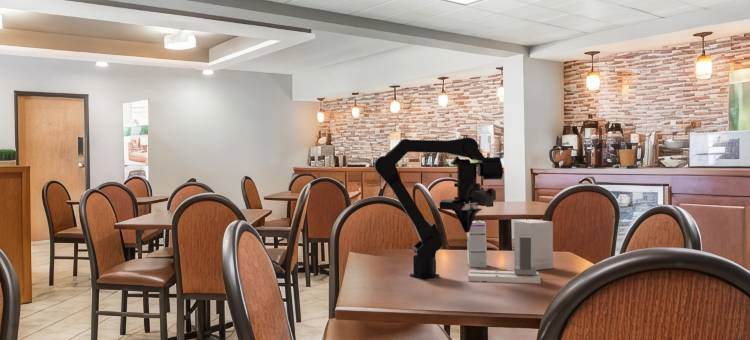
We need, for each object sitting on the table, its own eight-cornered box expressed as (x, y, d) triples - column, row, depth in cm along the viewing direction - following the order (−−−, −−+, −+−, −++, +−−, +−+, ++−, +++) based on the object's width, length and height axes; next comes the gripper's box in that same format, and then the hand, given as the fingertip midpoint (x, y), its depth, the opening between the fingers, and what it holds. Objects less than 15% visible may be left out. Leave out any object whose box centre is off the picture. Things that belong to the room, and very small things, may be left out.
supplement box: (554, 268, 188) (554, 221, 187) (531, 271, 184) (531, 222, 184) (534, 264, 196) (534, 218, 196) (513, 266, 192) (513, 220, 192)
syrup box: (487, 267, 190) (487, 222, 190) (468, 267, 190) (468, 222, 190) (484, 264, 196) (484, 220, 195) (466, 264, 196) (466, 220, 195)
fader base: (468, 281, 169) (468, 274, 169) (469, 274, 178) (469, 268, 178) (540, 283, 165) (540, 277, 165) (537, 277, 174) (537, 271, 174)
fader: (514, 274, 168) (514, 237, 168) (513, 270, 174) (513, 234, 174) (536, 275, 167) (536, 237, 167) (534, 271, 173) (534, 235, 173)
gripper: (468, 181, 164) (468, 237, 164) (508, 179, 177) (508, 231, 177) (438, 180, 172) (438, 234, 173) (478, 178, 185) (478, 228, 185)
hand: (467, 232), depth 177 cm, fingers closed
